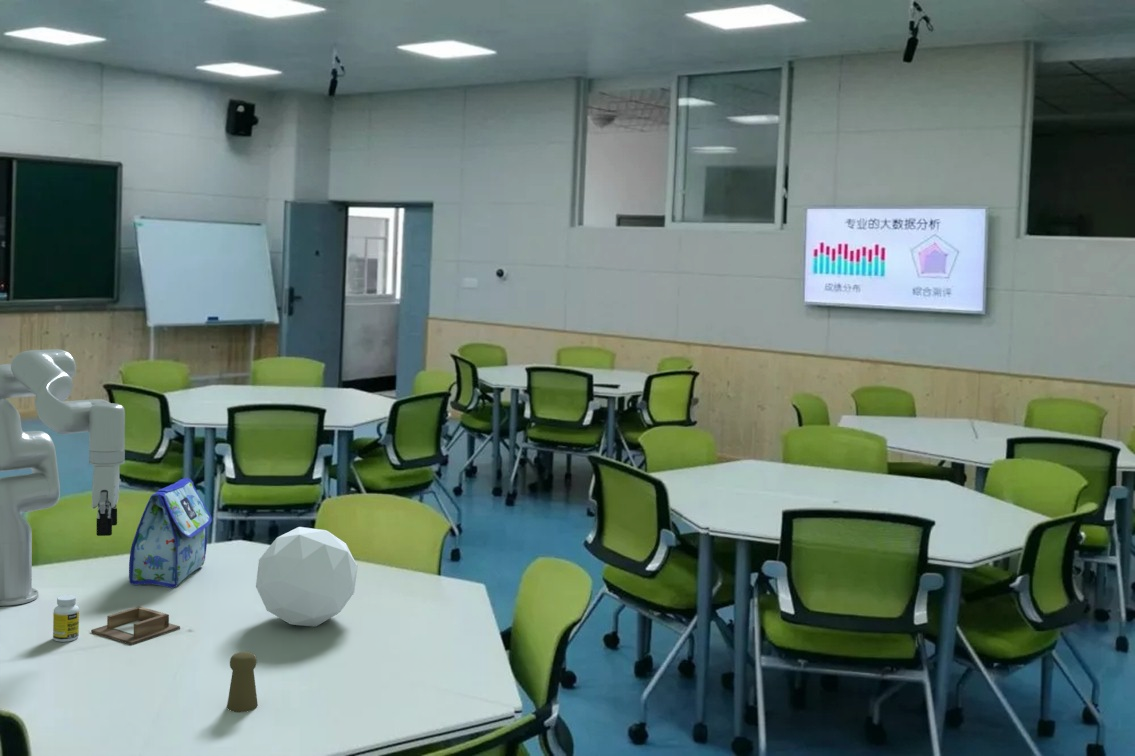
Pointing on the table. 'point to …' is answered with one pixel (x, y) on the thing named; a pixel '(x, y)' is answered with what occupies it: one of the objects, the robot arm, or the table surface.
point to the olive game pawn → (242, 683)
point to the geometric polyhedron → (306, 576)
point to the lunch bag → (170, 536)
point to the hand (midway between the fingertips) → (107, 530)
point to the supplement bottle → (66, 619)
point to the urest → (136, 625)
